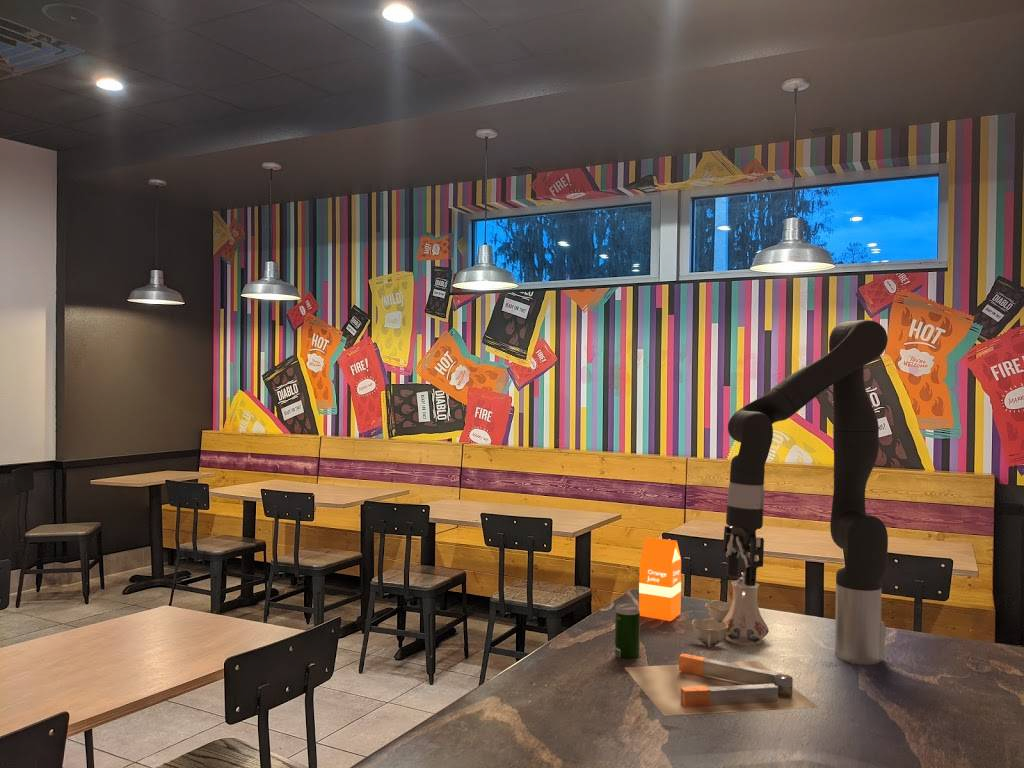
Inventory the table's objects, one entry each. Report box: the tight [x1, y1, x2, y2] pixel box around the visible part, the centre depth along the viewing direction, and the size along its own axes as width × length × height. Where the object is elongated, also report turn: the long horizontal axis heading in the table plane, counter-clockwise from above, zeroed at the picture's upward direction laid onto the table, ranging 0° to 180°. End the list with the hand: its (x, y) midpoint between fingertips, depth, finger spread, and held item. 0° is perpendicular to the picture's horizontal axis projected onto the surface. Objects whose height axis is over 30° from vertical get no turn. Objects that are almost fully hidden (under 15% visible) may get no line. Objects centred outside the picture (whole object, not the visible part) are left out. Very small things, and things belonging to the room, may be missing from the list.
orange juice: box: [638, 536, 682, 622], centre depth 209 cm, size 8×9×20 cm
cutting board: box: [623, 660, 819, 717], centre depth 158 cm, size 30×24×2 cm
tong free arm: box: [678, 653, 794, 697], centre depth 158 cm, size 23×4×3 cm, turn 59°
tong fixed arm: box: [681, 684, 778, 708], centre depth 149 cm, size 18×2×3 cm, turn 99°
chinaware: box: [691, 571, 769, 649], centre depth 192 cm, size 28×17×17 cm, turn 160°
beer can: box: [614, 603, 641, 660], centre depth 175 cm, size 5×5×12 cm
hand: (740, 580), depth 170 cm, fingers open, 8 cm apart
